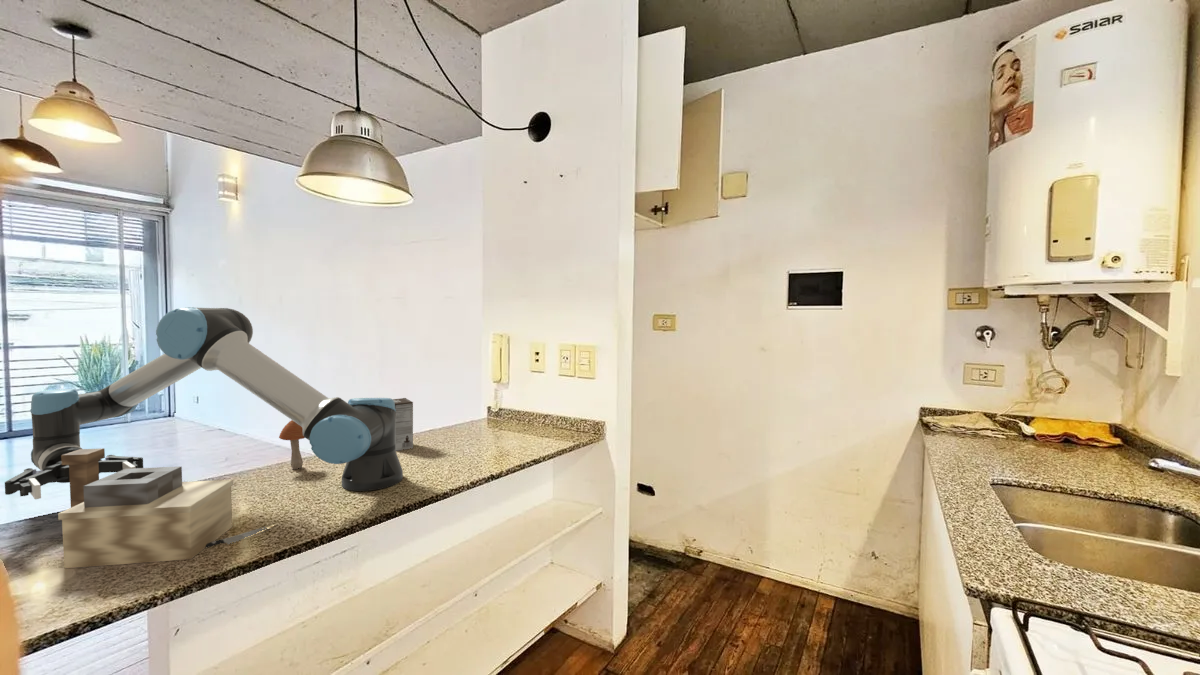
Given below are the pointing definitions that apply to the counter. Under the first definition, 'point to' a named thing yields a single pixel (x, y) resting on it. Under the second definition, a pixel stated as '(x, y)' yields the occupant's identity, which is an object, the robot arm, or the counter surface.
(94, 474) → the brown t-shaped block
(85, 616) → the counter surface
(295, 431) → the mushroom
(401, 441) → the coffee box
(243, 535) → the chef's knife
